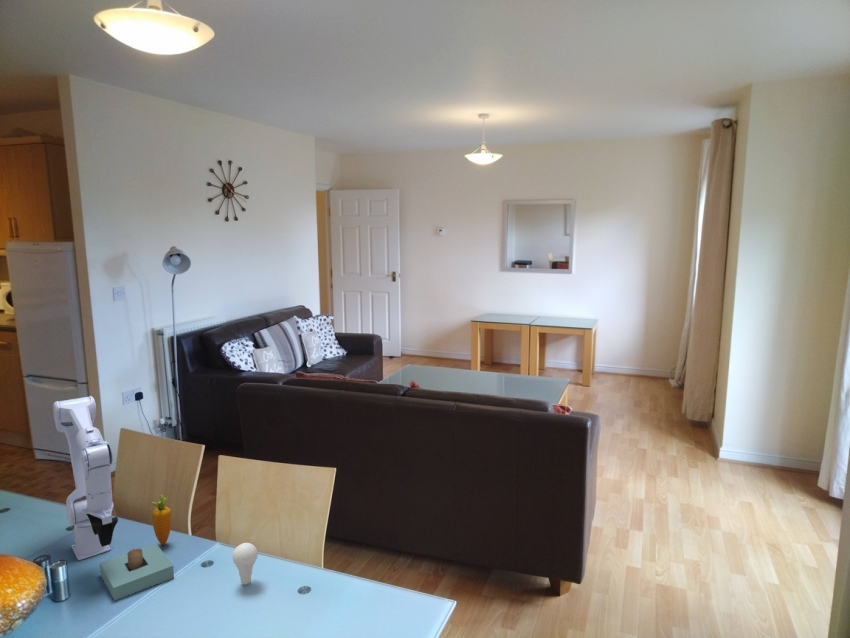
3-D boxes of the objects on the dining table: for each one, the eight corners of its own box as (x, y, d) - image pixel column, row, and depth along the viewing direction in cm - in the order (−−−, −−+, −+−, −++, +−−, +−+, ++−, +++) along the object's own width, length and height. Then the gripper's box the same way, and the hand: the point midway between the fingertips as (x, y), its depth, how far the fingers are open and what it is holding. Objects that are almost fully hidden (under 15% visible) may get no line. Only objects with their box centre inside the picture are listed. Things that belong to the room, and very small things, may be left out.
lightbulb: (263, 580, 141) (262, 541, 140) (246, 594, 136) (245, 553, 134) (245, 574, 144) (244, 535, 142) (228, 587, 138) (226, 547, 137)
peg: (127, 576, 142) (126, 551, 141) (142, 571, 144) (140, 547, 143) (130, 582, 140) (129, 557, 139) (145, 577, 142) (143, 552, 141)
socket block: (100, 575, 142) (99, 562, 142) (156, 555, 152) (156, 543, 151) (114, 601, 132) (113, 587, 132) (173, 577, 142) (173, 565, 141)
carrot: (165, 551, 154) (162, 501, 152) (150, 548, 155) (147, 499, 153) (176, 541, 159) (174, 493, 157) (161, 539, 160) (159, 492, 158)
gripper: (75, 485, 142) (78, 533, 144) (87, 505, 132) (91, 556, 134) (105, 477, 147) (108, 524, 149) (119, 496, 137) (122, 546, 139)
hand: (102, 538), depth 142 cm, fingers open, 7 cm apart
